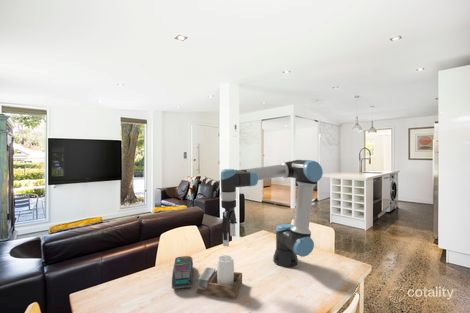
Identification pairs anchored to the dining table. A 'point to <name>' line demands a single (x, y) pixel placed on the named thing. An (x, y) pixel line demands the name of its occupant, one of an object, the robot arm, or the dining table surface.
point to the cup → (225, 270)
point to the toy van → (182, 272)
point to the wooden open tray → (211, 286)
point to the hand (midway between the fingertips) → (229, 240)
